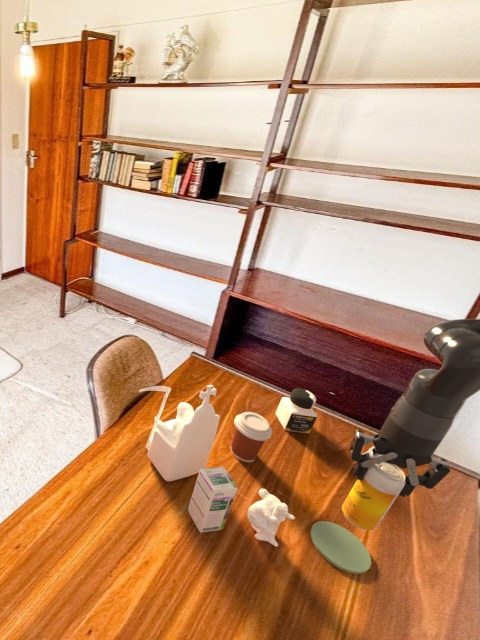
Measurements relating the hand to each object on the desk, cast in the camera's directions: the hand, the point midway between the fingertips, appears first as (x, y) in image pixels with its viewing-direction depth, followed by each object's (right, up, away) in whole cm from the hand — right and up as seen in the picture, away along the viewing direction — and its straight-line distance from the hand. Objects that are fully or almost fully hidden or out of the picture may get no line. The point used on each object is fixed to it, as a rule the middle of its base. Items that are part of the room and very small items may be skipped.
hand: (378, 484), depth 79 cm
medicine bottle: (+11, -3, +43) cm, 44 cm away
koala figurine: (-17, -17, +11) cm, 27 cm away
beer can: (0, -10, +5) cm, 11 cm away
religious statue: (-33, -8, +29) cm, 44 cm away
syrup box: (-29, -16, +14) cm, 36 cm away
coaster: (-1, -19, +9) cm, 21 cm away
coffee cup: (-10, -8, +32) cm, 34 cm away
